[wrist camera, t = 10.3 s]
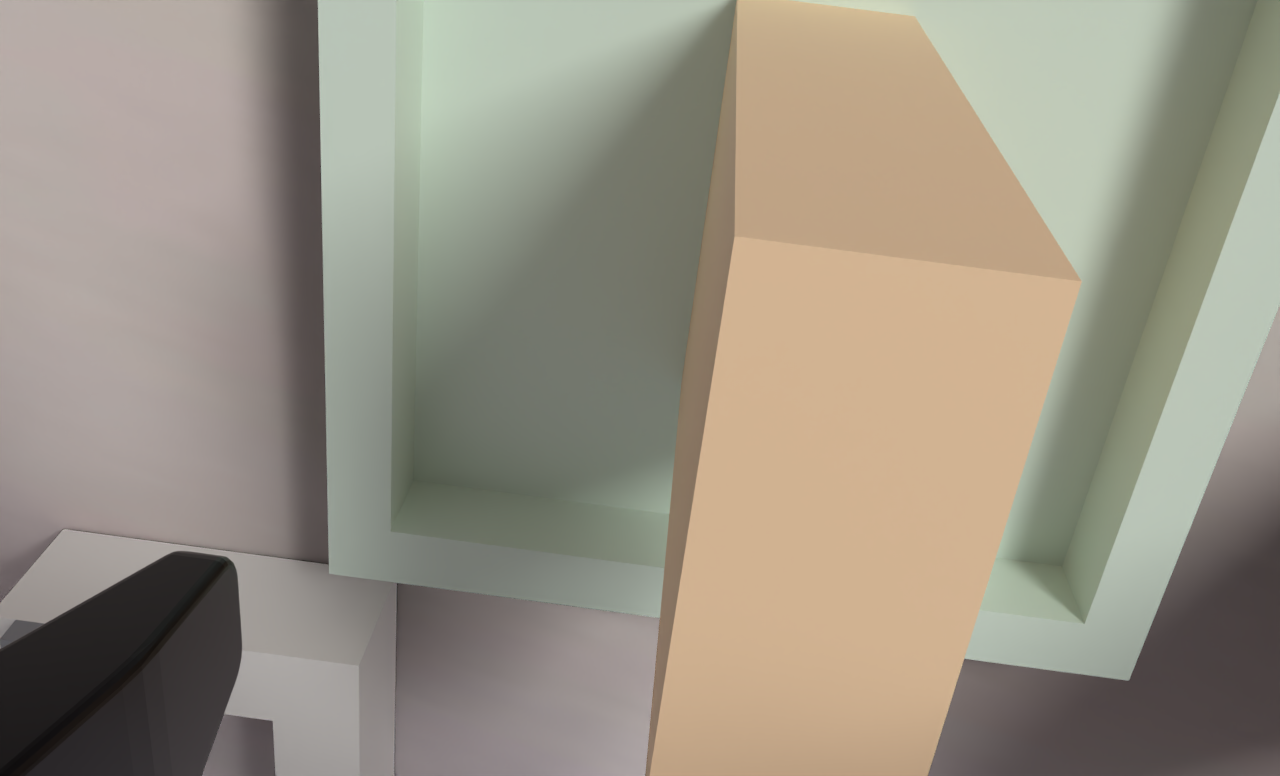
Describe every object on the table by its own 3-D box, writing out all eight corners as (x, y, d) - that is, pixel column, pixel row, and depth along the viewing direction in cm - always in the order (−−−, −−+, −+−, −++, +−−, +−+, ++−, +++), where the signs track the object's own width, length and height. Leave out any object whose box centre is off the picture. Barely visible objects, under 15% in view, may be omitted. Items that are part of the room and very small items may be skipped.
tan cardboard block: (831, 402, 19) (897, 874, 11) (681, 382, 19) (638, 838, 11) (914, 16, 16) (1082, 281, 8) (737, -8, 16) (734, 236, 8)
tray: (1095, 599, 21) (1128, 680, 19) (364, 501, 21) (328, 573, 19) (1397, -226, 15) (1490, -222, 13) (363, -354, 15) (310, -367, 13)
